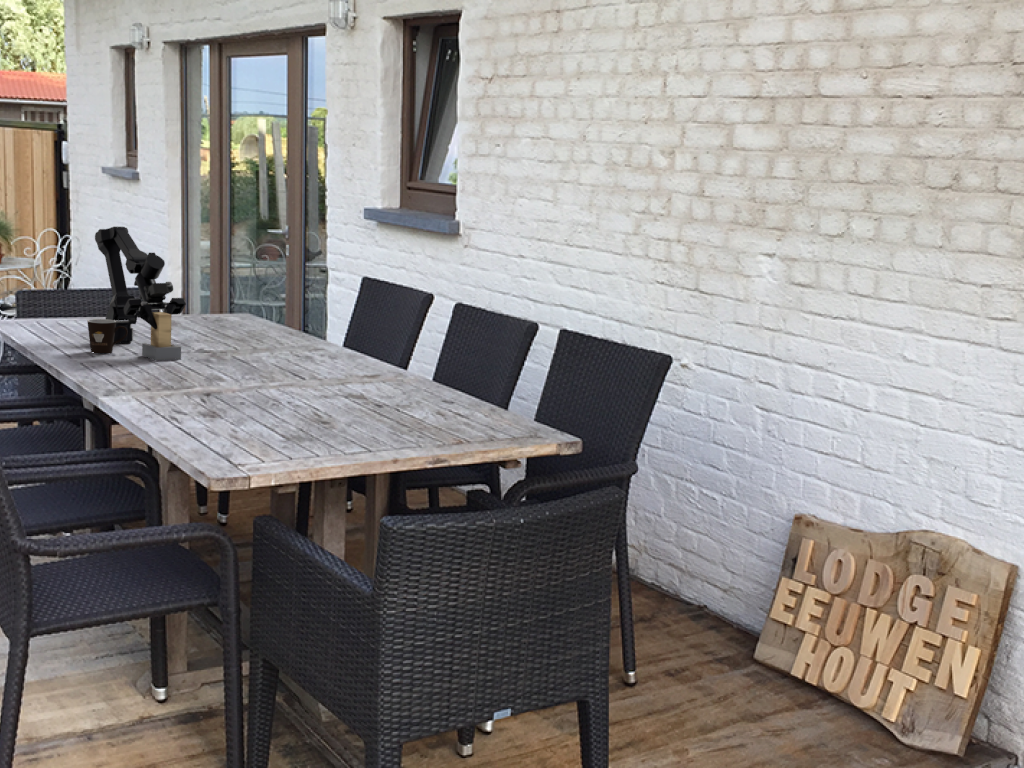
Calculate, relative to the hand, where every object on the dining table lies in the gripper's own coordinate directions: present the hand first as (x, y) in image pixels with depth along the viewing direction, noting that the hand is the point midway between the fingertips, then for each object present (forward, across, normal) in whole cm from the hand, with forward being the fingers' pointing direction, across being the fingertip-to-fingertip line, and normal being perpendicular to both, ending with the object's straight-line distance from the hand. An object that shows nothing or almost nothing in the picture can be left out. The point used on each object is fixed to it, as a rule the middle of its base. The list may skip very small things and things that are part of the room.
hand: (162, 328), depth 377 cm
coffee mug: (-3, -13, +17) cm, 21 cm away
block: (+4, 0, +6) cm, 7 cm away
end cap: (+6, 0, +8) cm, 10 cm away
